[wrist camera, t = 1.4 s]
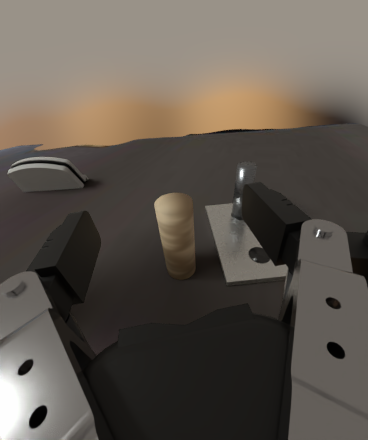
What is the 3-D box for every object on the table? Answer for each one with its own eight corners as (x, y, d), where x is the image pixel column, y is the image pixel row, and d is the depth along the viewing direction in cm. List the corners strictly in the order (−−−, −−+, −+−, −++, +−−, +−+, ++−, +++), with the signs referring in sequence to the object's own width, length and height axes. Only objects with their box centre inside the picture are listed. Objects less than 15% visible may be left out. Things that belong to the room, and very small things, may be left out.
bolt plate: (226, 286, 27) (234, 227, 20) (205, 209, 40) (205, 159, 34) (311, 277, 27) (349, 215, 20) (261, 204, 41) (273, 153, 34)
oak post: (167, 281, 28) (153, 216, 20) (167, 257, 31) (155, 194, 24) (197, 278, 28) (194, 212, 20) (193, 254, 31) (190, 191, 24)
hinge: (89, 179, 56) (70, 151, 47) (86, 191, 53) (65, 164, 45) (33, 183, 56) (4, 155, 48) (27, 195, 54) (-5, 169, 45)
